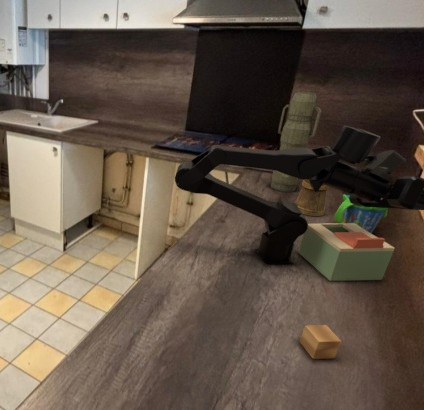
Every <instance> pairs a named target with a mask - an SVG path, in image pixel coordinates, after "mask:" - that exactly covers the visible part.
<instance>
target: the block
mask: <svg viewBox="0 0 424 410" xmlns="http://www.w3.org/2000/svg"><path fill="white" fill-rule="evenodd" d="M299 343H300V344H301V346H302V347H303V348H304V350H305V351H306V352H307V354H308V355H309V356H310V357H311V358H312V359H313V360H319V359H320V360H321V359H322V360H323V359H326V360H327V359H335V358H336V357H337V353H338V351H339V348H340V345H341V343H342V340H341V339H340V338H339V337H338V336H337V335H336V334H335V332H333V331H332V330H331V329H330V327H329V326H328V325H326V324H323V325H322V324H320V325H318V324H314V325H311V324H310V325H309V324H308V325H304V327H303V331H302V334H301V337H300V341H299Z"/></svg>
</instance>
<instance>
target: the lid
mask: <svg viewBox="0 0 424 410" xmlns="http://www.w3.org/2000/svg"><path fill="white" fill-rule="evenodd" d="M325 227H343V228H345V229H346V230H348V231H349V232H363V233H364V234H366V235H367V236H369V237H371V238H379V237H378V236H376V235H374V234H373V233H372V234H371V233H369V232H368V231H366V230H365V229H363V228H361V227H360V226H358V225H356V224H355V223H338V222H335V223H333V222H332V223H325V222H324V223H308V228H309V229H310V230H311V231H313V232H314V233H315V234H317V235H318V236H319V237H321V238H322V239H323V240H325V241H326V242H327V243H329V244H330V245H331V246H333V247H334V248H335V249H337V250H338V251H339V252H351V251H354V252H355V251H393V252H395V248H396V247H394V246H393V245H391V244H389V243H388V242H386V241H384V243H383V246H384V247H383V248H352V247H351V246H350V245H348V244H347V243H345V242H344V241H342V240H341V239H340V238H338V237H337V236H335V235H334V233H332V232H331V231H329V230H328V229H327V228H325Z"/></svg>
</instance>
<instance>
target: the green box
mask: <svg viewBox="0 0 424 410" xmlns="http://www.w3.org/2000/svg"><path fill="white" fill-rule="evenodd" d="M325 228H327V229H328V230H329V231H331V232H332V233H334V232H349V231H348V230H346V229H345V228H343V227H325ZM298 254H299V255H300V256H302V257H303V258H304V259H305V260H306V261H307V262H308V263H309V264H311V266H313V268H315V269H316V270H317V271H318V272H319V273H320V274H322V275H323V277H325V278H326V279H327V280H328V281H330V282H333V281H336V282H337V281H340V282H341V281H383V278H384V276H385V274H386V271H387V269H388V267H389V264H390V261H391V259H392V256H393V254H394V251H355V252H354V251H351V252H339V251H338V250H337V249H335V248H334V247H333V246H331V245H330V244H329V243H327V242H326V241H325V240H323V239H322V238H321V237H319V236H318V235H317V234H315V233H314V232H313V231H311V230H310V229H309V228H307V230H306V232H305V233H304V234H303V235H302V239H301V243H300V246H299V250H298Z"/></svg>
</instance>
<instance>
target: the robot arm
mask: <svg viewBox="0 0 424 410" xmlns="http://www.w3.org/2000/svg"><path fill="white" fill-rule="evenodd" d="M380 139H381V136H380V135H378V134H375V133H372V132H370V131H368V130H365V129H363V128H359V127H357V128H356V127H353V126H348V125H345V124H344V125H343V126H342V127H341V129H340V131H339V133H338V135H337V137H336V139H334V141H333V143H332V145H331V146H329V145H323V146H318V147H314V148H308V147H305V148H289V149H284V150H280V149H277V150H270V149H269V150H268V149H258V148H249V147H248V148H247V147H237V146H226V145H221V144H214V145H212V146H211V147H209V149H207V150H206V151H204V152H202V153H200V154H199V155H197V156H195V157H194V158H192V159H191V160H186V161H184V162H181V163H180V164H179V165H178V167H177V169H176V172H175V176H174V183H175V185H176V187H177V188H178V189H180V190H181V191H185V192H188V193H193V194H197V195H198V194H200V195H208V196H210V197H213V198H215V199H217V200H219V201H222V202H223V203H227V204H229V205H231V206H233V207H235V208H237V209H240V210H243V212H244V211H245V212H247V213H249V214H251V215H253V216H256V217H257V218H260V219H262V220H264V227H265V228H266V231H264V232H261V238H260V242H259V245H258V246H259V247H258V248H254V252H255V253H256V254H257V256H258V257H259V258H260V259H261V260H262V261H263V263H265V264H267V265H291V264H293V260H291V258H292V257H291V256H292V253H293V249H294V246H295V242H296V241H297V240H298V238H299V237H301V236H303V235H304V233H305V232H306V230H307V228H308V224H309V223H308V220H307V219H306V217H305V216H304V215H305V214H303V213H302V212H301V210H300V209H299V208H298V206H297V204H296V203H295V202H292V201H288V200H286V199H285V198H283V197H279V199H278V201H272V200H267V199H265V198H263V197H260V196H258V195H256V194H254V193H251V192H249V191H246V190H244V189H242V188H239V187H237V186H236V185H233V184H231V183H228V182H226V181H223V180H222V179H220V178H217V177H215V176H213V174H211V172H212V171H213V170H215V168H217V167H218V166H220V165H225V166H233V167H242V168H243V167H244V168H251V169H253V168H254V169H261V170H272V171H274V170H275V171H279V172H281V173H284V174H286V175H289V176H293V177H296V178H299V180H300V179H301V180H305V179H308V180H309V182H310V183H311V187H312V188H313V190H314V191H315V192H317V191H318V190H319V189H320V188H321V186H322V185H326V186H328V188H331V189H334V190H336V191H339V192H342V193H341V194H342V195H344V194H345V195H350V196H349V200H350V203H352V204H355V205H357V206H364V207H377V208H388V209H399V210H408V211H424V177H421V176H418V175H407V176H406V175H405V176H401V177H399V178H397V179H396V180H395V182H394V183H391V182H392V180H393V178H394V175H392V173H394V172H395V171H396V169H398V168H399V167H400V166H401V165H403V164H404V163H406V160H407V159H406V158H404V157H403V155H401V154H400V153H398V152H397V151H396V150H394V149H389V150H383V151H381V152H379V153H377V154H376V155H374V154H370V153H371V152H372V150H373V149H374V147H375V146H376V145H377V143H378V142H379V141H380ZM340 160H341V161H340ZM343 161H344V162H346V163H344V162H343ZM361 163H362V164H363V167H364V168H358V167H356V166H353V165H355V164H360V165H361ZM350 164H351V165H350Z"/></svg>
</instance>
